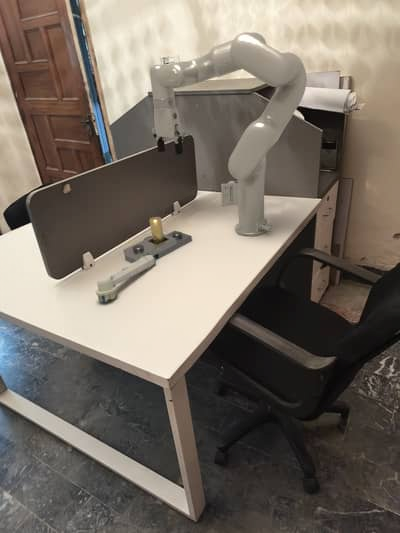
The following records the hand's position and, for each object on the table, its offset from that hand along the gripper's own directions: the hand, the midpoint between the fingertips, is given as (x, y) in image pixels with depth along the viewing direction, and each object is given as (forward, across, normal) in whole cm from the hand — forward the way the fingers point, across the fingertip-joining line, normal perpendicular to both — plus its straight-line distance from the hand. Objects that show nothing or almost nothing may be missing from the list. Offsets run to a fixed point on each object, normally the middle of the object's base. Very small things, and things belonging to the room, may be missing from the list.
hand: (170, 152), depth 139 cm
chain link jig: (+28, -13, +22) cm, 38 cm away
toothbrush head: (+28, -22, +42) cm, 56 cm away
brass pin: (+28, -13, +22) cm, 38 cm away
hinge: (+29, -9, -28) cm, 41 cm away
